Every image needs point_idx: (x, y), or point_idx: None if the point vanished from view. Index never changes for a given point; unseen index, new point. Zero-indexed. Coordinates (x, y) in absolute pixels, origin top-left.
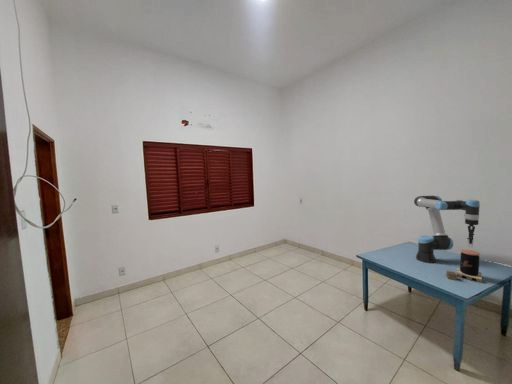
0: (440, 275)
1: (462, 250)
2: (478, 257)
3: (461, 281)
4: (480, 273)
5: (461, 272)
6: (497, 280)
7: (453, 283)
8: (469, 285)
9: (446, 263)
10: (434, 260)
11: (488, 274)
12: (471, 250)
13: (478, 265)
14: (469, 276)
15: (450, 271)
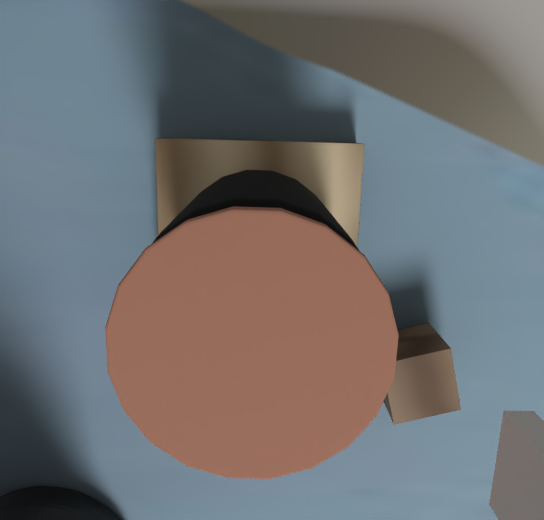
0: (393, 429)
1: (244, 461)
2: (317, 214)
3: (428, 288)
4: (187, 148)
5: None
6: (178, 8)
7: (516, 339)
8: (484, 234)
9: (15, 405)
10: (70, 509)
11: (52, 72)
12: (126, 332)
13: (291, 187)
14: (356, 241)
15: (398, 395)
